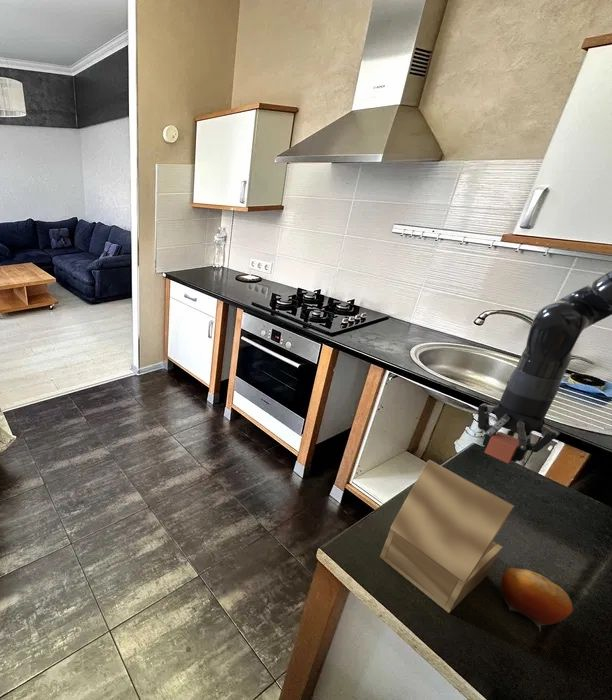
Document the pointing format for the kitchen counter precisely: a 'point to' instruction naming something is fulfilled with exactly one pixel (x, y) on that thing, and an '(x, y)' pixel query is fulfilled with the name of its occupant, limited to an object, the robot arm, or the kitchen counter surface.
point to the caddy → (434, 571)
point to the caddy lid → (451, 519)
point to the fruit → (535, 596)
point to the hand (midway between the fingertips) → (500, 453)
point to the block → (502, 447)
